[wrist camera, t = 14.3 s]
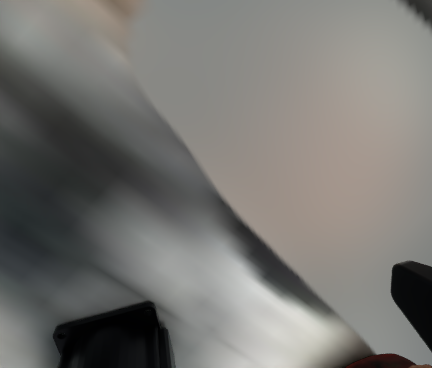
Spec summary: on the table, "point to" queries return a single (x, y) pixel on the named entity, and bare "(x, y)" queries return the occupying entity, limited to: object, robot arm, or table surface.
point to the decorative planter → (385, 362)
